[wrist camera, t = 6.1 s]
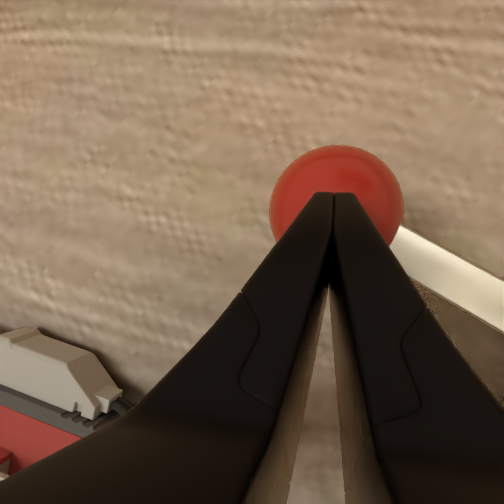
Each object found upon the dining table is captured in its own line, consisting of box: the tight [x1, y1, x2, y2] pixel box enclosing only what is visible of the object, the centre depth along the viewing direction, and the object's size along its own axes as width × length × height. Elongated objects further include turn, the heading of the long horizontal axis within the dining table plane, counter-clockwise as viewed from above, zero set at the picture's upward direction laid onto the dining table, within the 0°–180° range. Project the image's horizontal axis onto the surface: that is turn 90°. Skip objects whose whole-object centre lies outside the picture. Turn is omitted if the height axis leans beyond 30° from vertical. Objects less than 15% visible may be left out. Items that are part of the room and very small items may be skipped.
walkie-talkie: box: [0, 327, 134, 481], centre depth 17 cm, size 9×4×20 cm
